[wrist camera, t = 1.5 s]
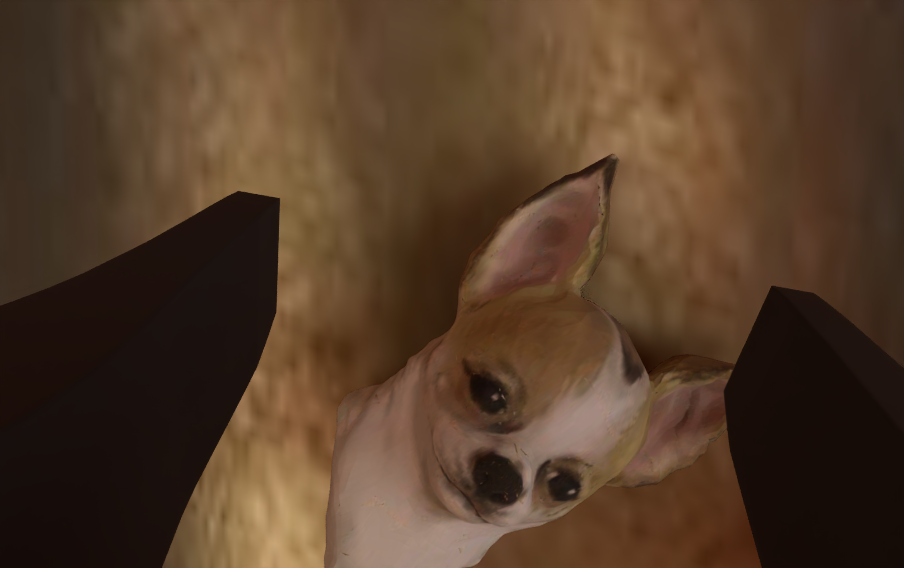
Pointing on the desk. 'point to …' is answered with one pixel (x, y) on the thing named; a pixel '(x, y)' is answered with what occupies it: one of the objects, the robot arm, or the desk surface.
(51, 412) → the robot arm
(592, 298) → the desk surface
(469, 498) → the ceramic sculpture
